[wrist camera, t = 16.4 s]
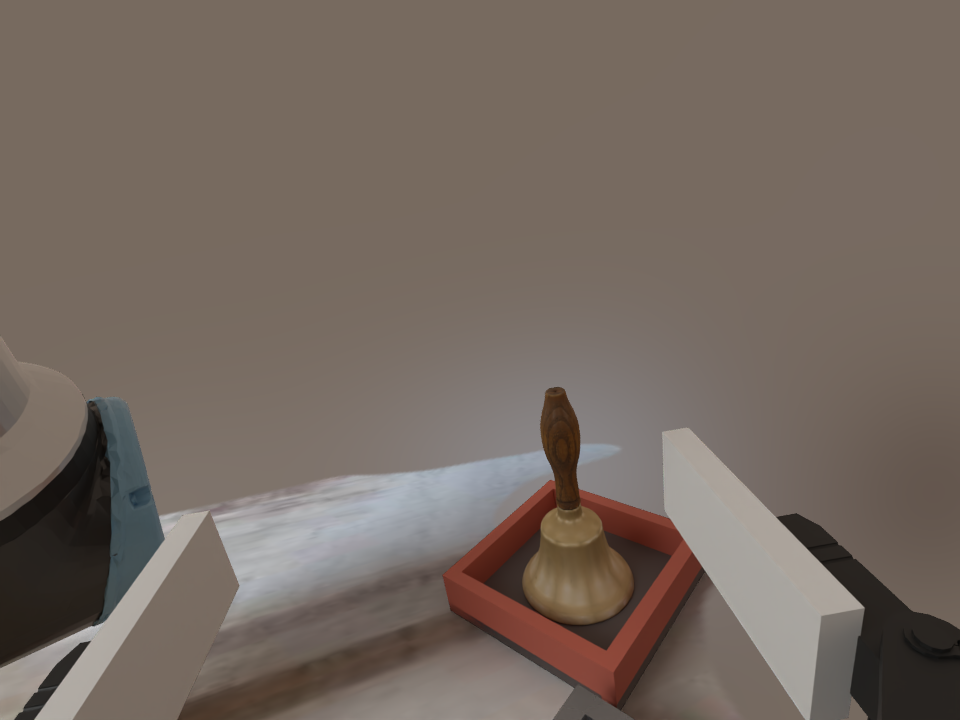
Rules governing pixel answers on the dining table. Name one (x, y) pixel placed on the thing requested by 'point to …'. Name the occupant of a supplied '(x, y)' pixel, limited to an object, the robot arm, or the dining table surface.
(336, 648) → the dining table surface
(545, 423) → the hand bell
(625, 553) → the tray
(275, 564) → the dining table surface
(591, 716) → the grey square open box
